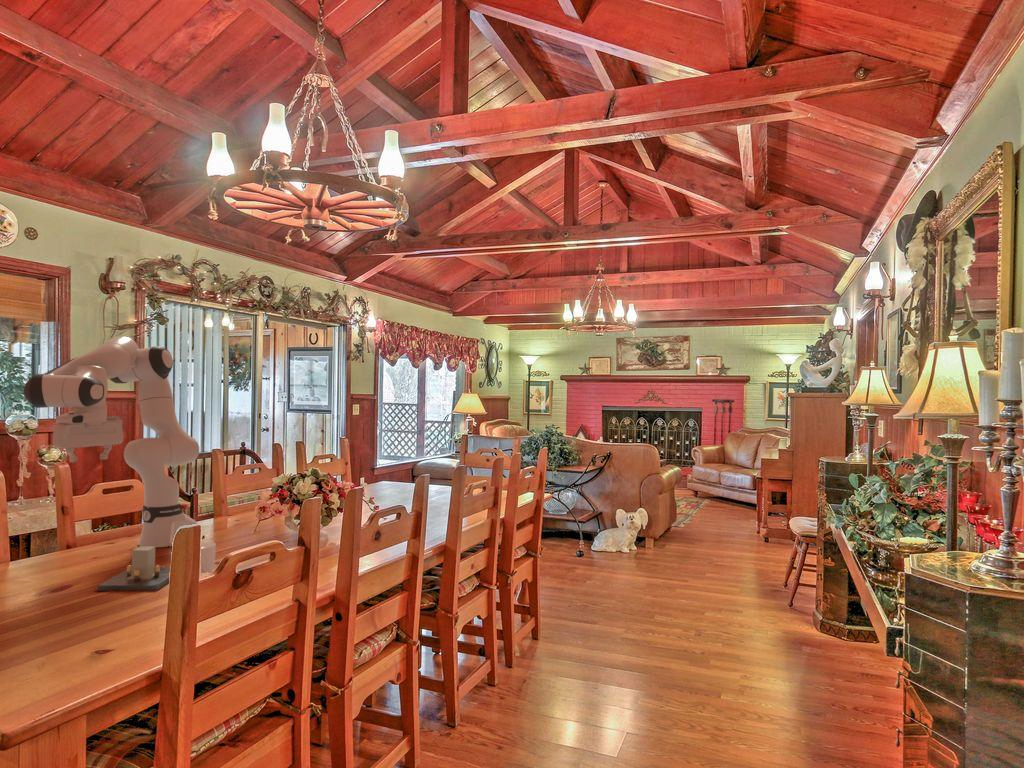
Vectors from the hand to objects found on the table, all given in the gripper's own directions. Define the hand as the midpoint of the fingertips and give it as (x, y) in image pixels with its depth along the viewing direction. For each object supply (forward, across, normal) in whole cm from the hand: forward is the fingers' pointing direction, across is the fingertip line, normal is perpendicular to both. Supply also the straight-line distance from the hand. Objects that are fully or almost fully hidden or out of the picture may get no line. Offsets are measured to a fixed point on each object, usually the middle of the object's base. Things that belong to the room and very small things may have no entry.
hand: (88, 460), depth 197 cm
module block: (+32, 0, +26) cm, 42 cm away
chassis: (+34, 0, +26) cm, 43 cm away
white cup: (+34, -10, +38) cm, 52 cm away
